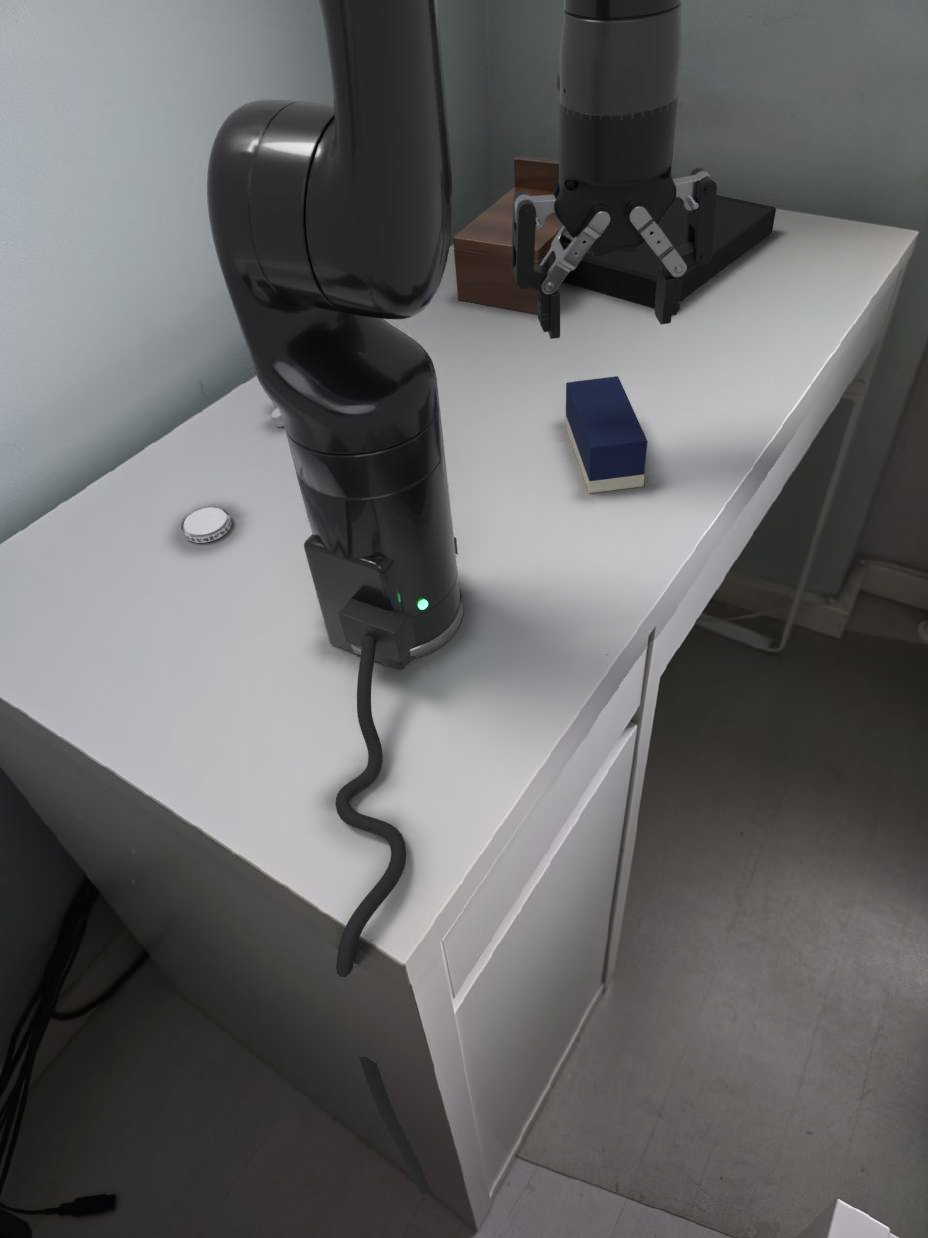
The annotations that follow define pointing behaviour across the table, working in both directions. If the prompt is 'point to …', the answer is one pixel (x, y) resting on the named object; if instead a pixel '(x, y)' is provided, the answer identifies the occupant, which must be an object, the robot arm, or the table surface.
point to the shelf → (504, 242)
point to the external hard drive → (638, 269)
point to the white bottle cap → (206, 524)
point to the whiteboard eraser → (605, 434)
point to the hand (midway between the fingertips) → (608, 326)
